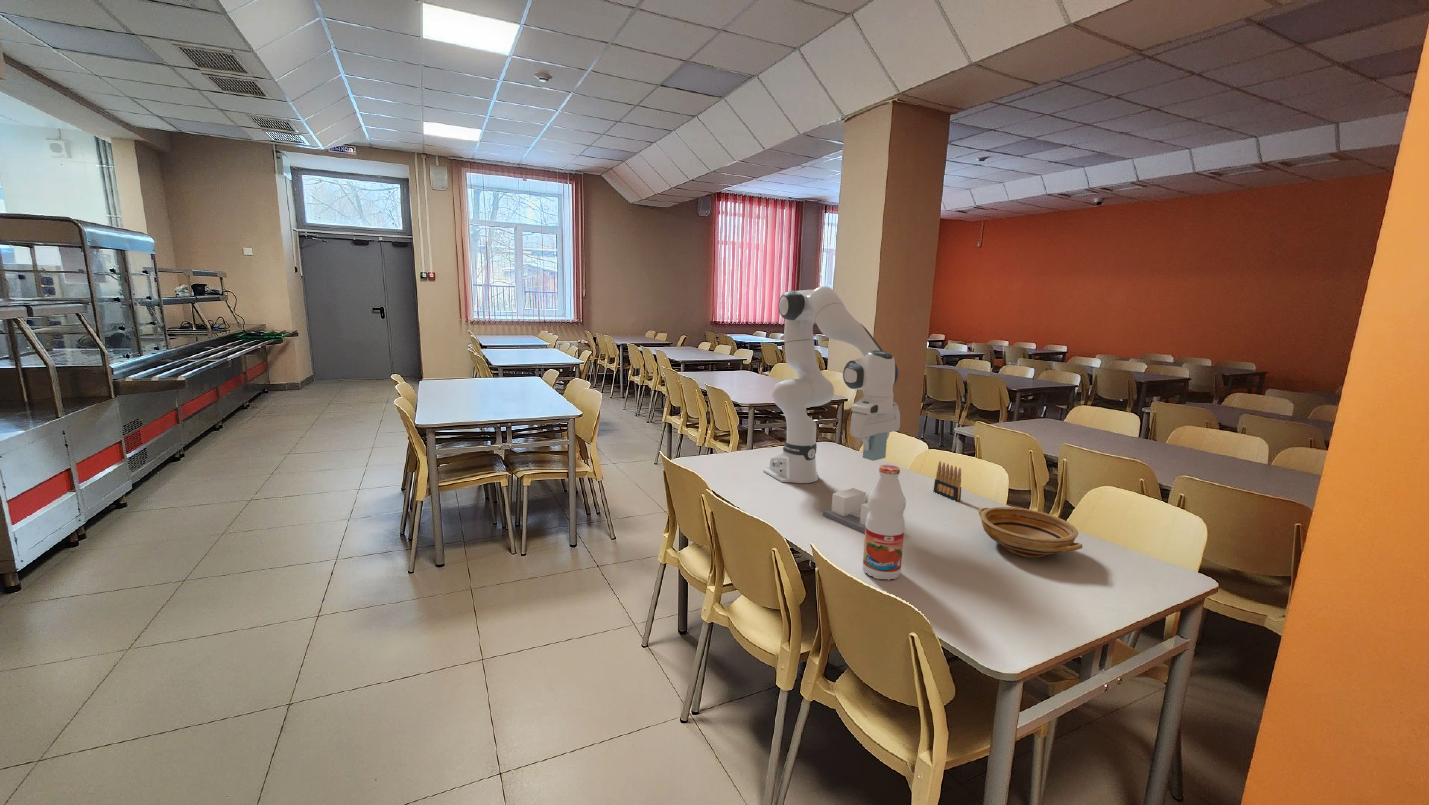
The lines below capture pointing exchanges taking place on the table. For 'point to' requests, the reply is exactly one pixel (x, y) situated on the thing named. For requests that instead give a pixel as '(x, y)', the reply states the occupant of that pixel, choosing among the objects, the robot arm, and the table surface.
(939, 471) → the ammunition clip
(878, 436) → the block
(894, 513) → the fruit juice
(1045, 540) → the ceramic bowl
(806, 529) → the table surface
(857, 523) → the board
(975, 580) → the table surface
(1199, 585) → the table surface
